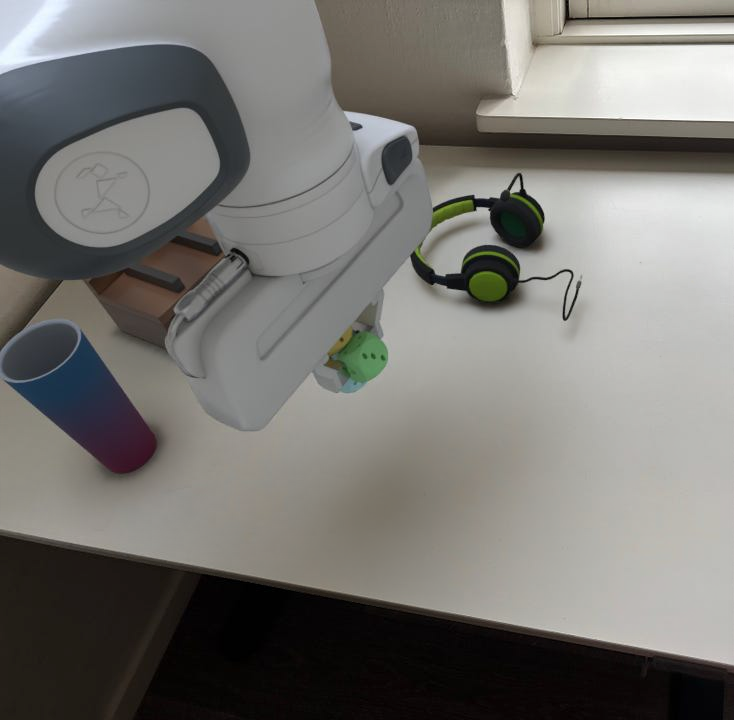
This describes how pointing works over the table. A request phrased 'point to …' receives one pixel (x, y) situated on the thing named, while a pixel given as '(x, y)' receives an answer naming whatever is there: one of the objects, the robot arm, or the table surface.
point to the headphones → (492, 246)
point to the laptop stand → (158, 283)
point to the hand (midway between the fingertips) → (353, 361)
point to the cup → (77, 393)
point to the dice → (360, 358)
